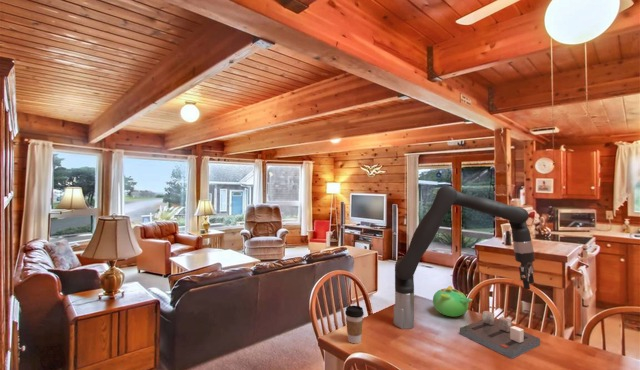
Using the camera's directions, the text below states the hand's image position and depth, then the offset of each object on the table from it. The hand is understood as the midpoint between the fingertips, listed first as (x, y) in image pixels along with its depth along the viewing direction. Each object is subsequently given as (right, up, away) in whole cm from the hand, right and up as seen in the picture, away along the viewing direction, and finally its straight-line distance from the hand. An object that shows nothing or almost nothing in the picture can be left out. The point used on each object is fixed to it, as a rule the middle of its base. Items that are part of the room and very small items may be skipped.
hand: (529, 285), depth 142 cm
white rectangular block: (-9, -22, -6) cm, 24 cm away
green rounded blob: (-24, -25, +27) cm, 44 cm away
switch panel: (-13, -25, +1) cm, 28 cm away
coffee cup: (-79, -25, +1) cm, 83 cm away
